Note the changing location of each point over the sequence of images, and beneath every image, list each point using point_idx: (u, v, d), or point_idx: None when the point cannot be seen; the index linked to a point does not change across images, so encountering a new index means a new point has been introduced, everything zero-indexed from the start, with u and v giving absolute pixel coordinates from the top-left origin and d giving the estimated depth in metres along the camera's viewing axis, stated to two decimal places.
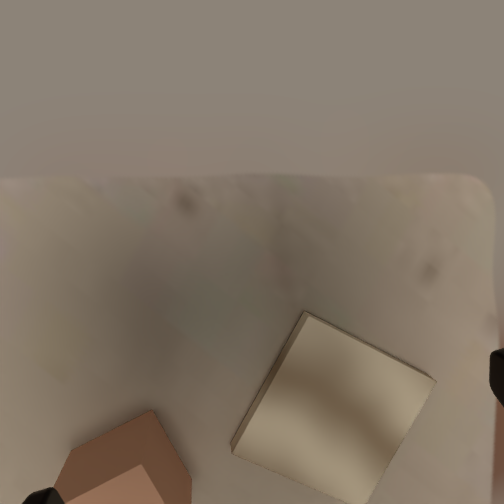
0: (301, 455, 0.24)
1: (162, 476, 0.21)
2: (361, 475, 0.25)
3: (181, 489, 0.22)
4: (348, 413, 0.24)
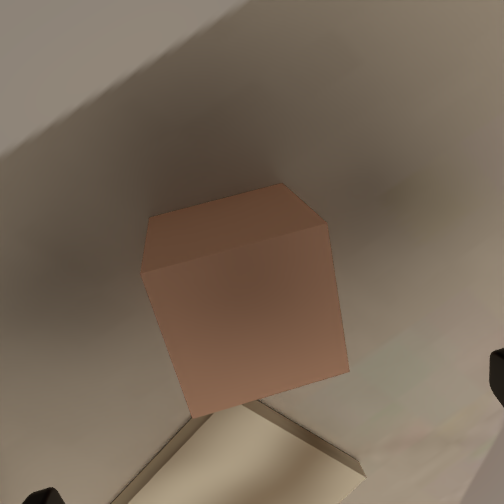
0: (200, 470, 0.19)
1: None
2: None
3: None
4: None
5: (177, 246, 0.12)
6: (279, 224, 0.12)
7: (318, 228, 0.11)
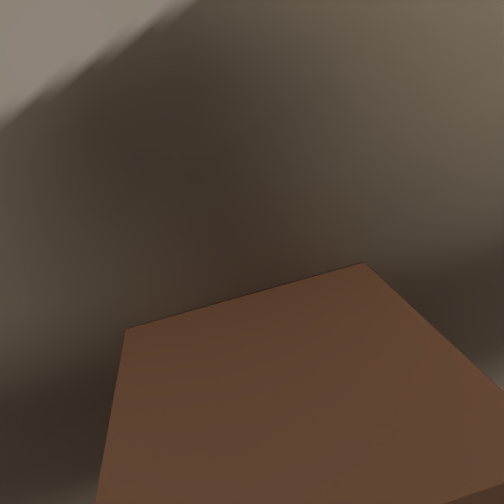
0: None
1: None
2: None
3: None
4: None
5: (177, 479, 0.05)
6: (426, 428, 0.05)
7: None
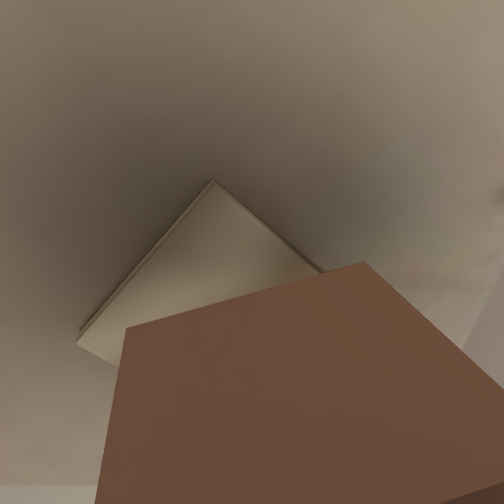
0: (183, 276, 0.18)
1: None
2: None
3: None
4: None
5: (178, 477, 0.05)
6: (427, 426, 0.05)
7: None
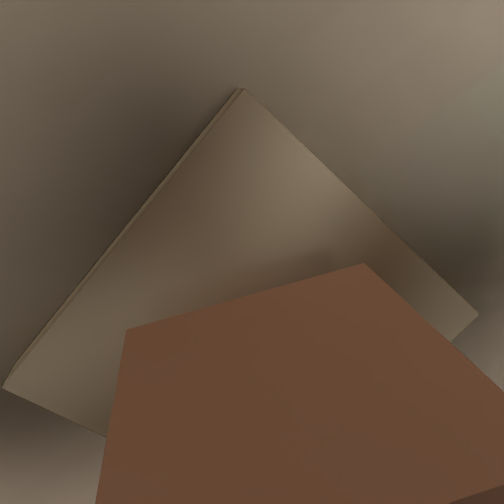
0: (188, 265, 0.10)
1: None
2: (99, 388, 0.11)
3: None
4: None
5: (178, 480, 0.05)
6: (427, 429, 0.05)
7: None
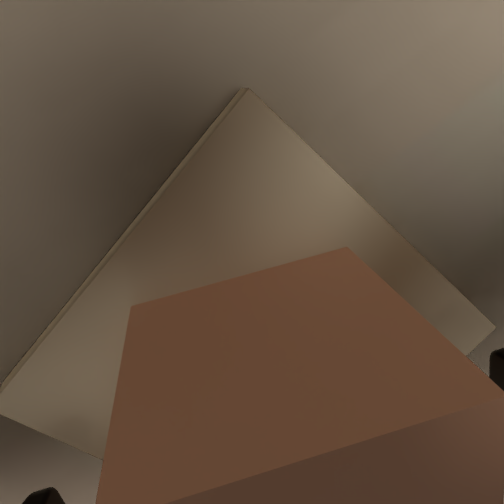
0: (188, 277, 0.09)
1: None
2: (93, 408, 0.10)
3: None
4: None
5: (177, 420, 0.06)
6: (388, 376, 0.06)
7: (486, 405, 0.05)
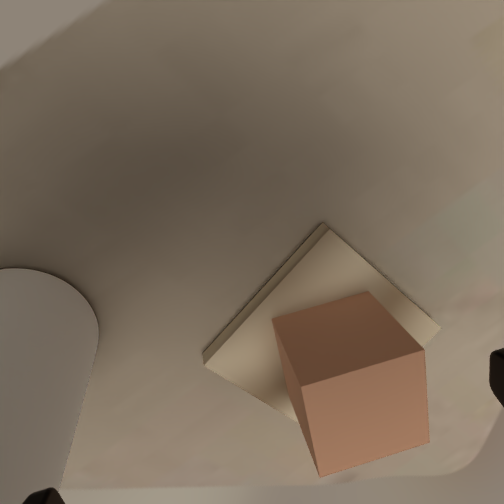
0: (297, 306, 0.20)
1: None
2: (248, 366, 0.21)
3: None
4: None
5: (315, 360, 0.17)
6: (387, 345, 0.17)
7: (418, 353, 0.16)
